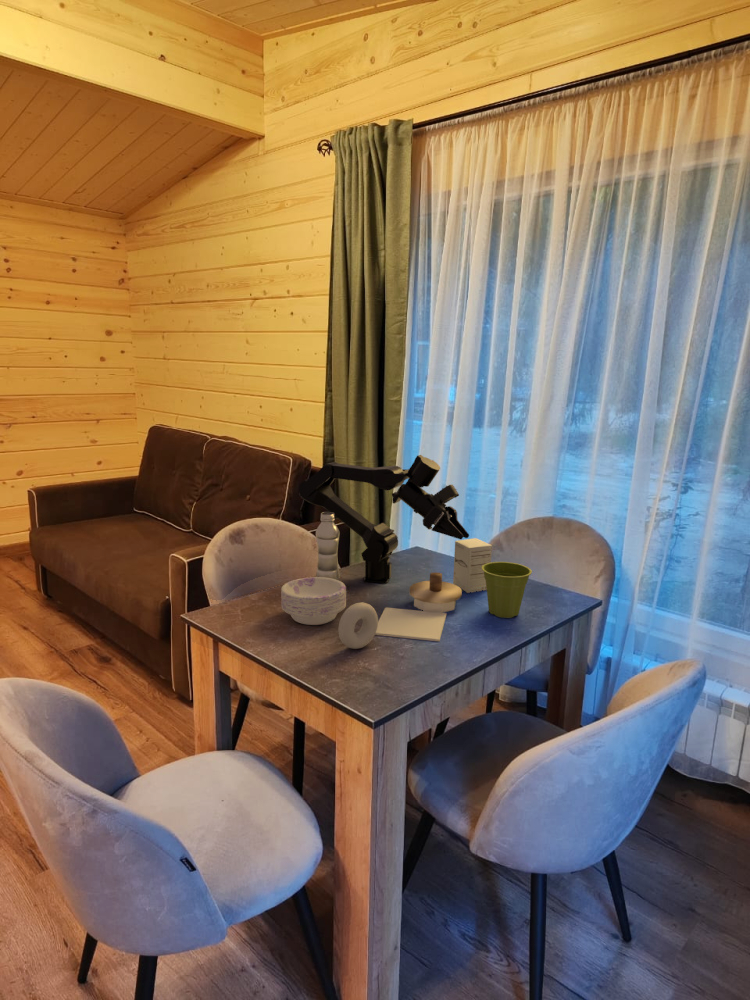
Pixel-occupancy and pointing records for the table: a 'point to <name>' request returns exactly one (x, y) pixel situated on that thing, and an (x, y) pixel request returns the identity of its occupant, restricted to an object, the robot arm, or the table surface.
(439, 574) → the lid
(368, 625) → the donut
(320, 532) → the plastic bottle
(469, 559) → the supplement box
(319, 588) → the paper bowls
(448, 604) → the dish
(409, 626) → the mat
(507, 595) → the plant pot
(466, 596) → the table surface
